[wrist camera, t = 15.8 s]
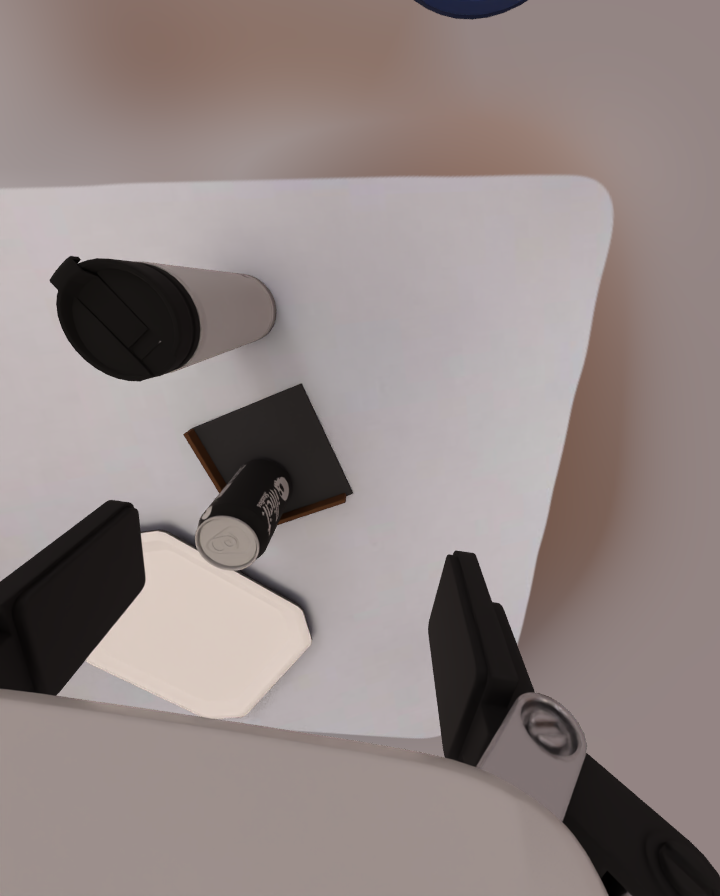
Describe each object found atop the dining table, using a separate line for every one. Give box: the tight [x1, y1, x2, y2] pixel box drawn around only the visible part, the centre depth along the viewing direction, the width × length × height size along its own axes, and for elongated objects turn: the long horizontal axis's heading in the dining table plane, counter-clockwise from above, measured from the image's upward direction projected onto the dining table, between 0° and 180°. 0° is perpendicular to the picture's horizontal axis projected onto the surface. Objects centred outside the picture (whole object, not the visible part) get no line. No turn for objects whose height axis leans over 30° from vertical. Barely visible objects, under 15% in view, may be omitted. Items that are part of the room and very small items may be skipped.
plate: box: [86, 530, 312, 719], centre depth 54 cm, size 29×29×2 cm
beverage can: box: [195, 459, 292, 571], centre depth 39 cm, size 7×7×12 cm
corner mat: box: [184, 384, 353, 525], centre depth 43 cm, size 14×14×2 cm
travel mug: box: [50, 256, 276, 381], centre depth 28 cm, size 6×7×20 cm
